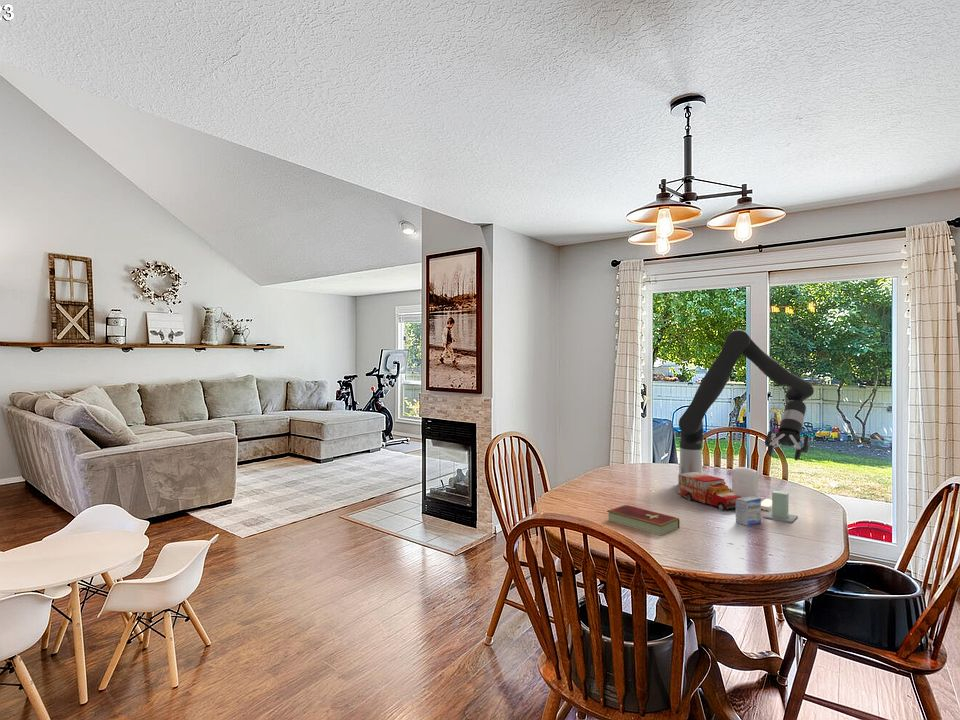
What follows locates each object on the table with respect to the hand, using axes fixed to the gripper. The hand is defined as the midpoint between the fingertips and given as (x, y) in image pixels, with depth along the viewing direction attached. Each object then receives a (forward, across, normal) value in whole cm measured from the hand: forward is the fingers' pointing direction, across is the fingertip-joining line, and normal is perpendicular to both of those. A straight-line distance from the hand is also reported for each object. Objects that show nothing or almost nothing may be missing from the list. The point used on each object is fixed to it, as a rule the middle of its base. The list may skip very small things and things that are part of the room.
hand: (782, 457), depth 190 cm
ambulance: (+22, -23, +8) cm, 33 cm away
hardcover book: (+52, -30, -23) cm, 65 cm away
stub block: (+22, +2, +5) cm, 23 cm away
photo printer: (+9, -15, +22) cm, 28 cm away
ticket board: (+14, -4, +14) cm, 21 cm away
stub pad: (+22, +3, +6) cm, 23 cm away
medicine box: (+32, -4, -5) cm, 33 cm away
